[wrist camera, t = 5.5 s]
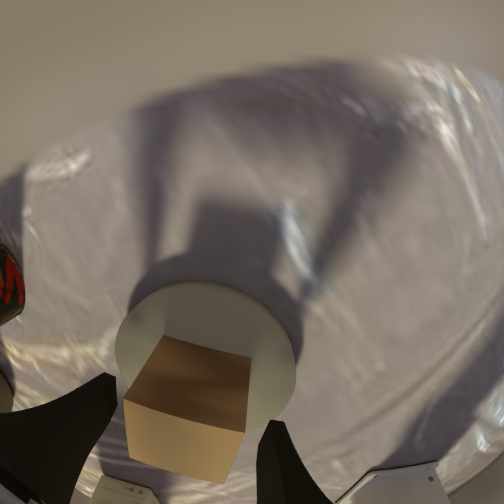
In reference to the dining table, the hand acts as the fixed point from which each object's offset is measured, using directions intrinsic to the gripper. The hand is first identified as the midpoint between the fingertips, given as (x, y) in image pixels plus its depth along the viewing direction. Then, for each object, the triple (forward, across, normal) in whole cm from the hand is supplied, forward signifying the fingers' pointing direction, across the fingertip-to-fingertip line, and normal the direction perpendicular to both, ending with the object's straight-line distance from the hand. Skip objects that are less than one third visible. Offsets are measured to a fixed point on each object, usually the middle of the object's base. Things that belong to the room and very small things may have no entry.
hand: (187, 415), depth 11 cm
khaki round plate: (+5, 0, 0) cm, 5 cm away
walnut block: (+3, 0, 0) cm, 3 cm away
